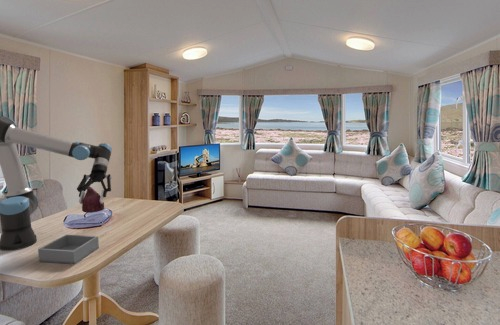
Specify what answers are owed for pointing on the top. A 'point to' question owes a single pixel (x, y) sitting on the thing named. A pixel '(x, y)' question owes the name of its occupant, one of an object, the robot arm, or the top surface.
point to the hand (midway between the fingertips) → (90, 202)
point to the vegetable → (92, 201)
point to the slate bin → (68, 249)
